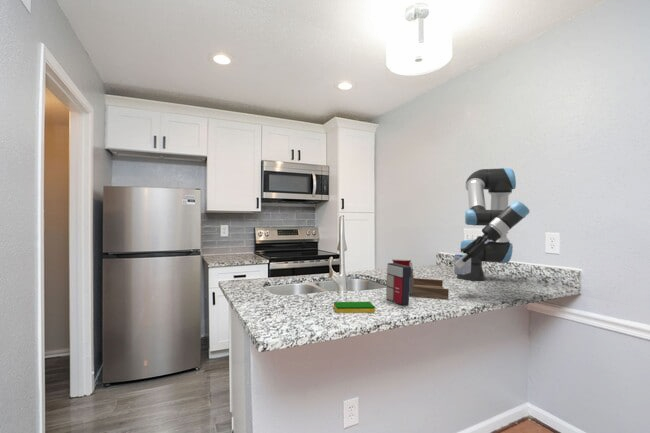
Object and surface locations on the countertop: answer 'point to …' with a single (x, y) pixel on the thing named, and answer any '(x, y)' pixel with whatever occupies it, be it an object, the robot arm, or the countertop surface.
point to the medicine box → (465, 268)
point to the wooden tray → (426, 287)
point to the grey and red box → (398, 283)
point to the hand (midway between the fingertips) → (455, 264)
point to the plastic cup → (402, 261)
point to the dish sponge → (354, 307)
